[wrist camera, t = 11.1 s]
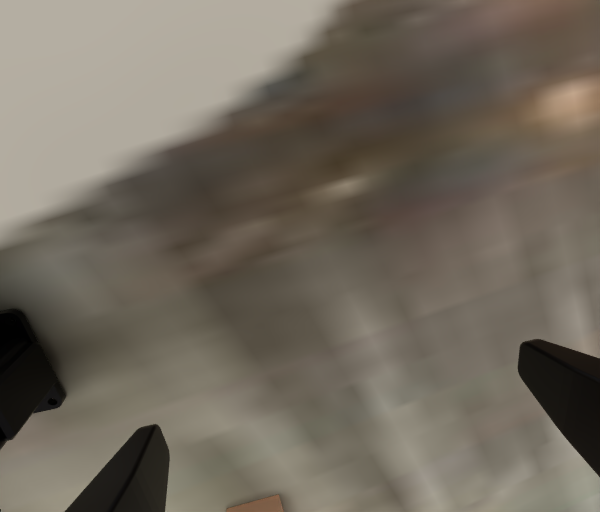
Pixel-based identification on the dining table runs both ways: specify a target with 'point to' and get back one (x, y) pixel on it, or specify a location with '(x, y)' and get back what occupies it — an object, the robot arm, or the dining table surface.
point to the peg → (260, 505)
